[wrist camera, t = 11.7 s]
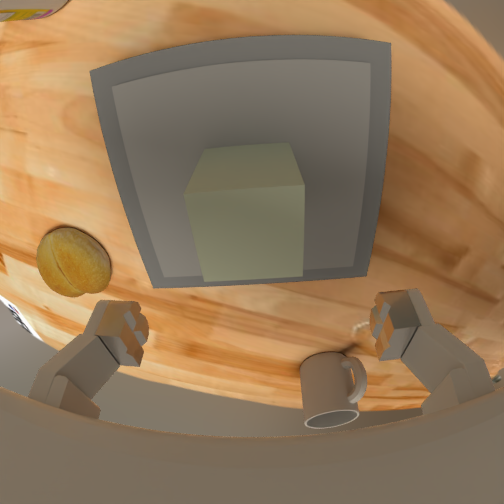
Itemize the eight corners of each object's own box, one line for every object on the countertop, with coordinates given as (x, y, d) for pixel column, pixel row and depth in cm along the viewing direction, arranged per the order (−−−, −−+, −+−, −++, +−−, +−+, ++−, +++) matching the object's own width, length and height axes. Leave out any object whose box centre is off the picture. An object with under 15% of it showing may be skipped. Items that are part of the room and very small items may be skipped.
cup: (288, 368, 40) (292, 424, 33) (340, 334, 35) (353, 397, 28) (322, 379, 43) (329, 430, 36) (372, 349, 38) (386, 404, 31)
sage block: (289, 142, 16) (304, 185, 12) (290, 214, 19) (302, 276, 15) (204, 149, 17) (183, 194, 12) (216, 219, 20) (204, 281, 15)
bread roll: (126, 277, 30) (114, 305, 26) (70, 287, 31) (57, 311, 28) (88, 213, 25) (70, 239, 21) (34, 234, 26) (16, 257, 23)
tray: (367, 43, 15) (393, 43, 12) (354, 247, 26) (367, 278, 23) (115, 65, 16) (87, 71, 13) (163, 258, 27) (152, 290, 24)
